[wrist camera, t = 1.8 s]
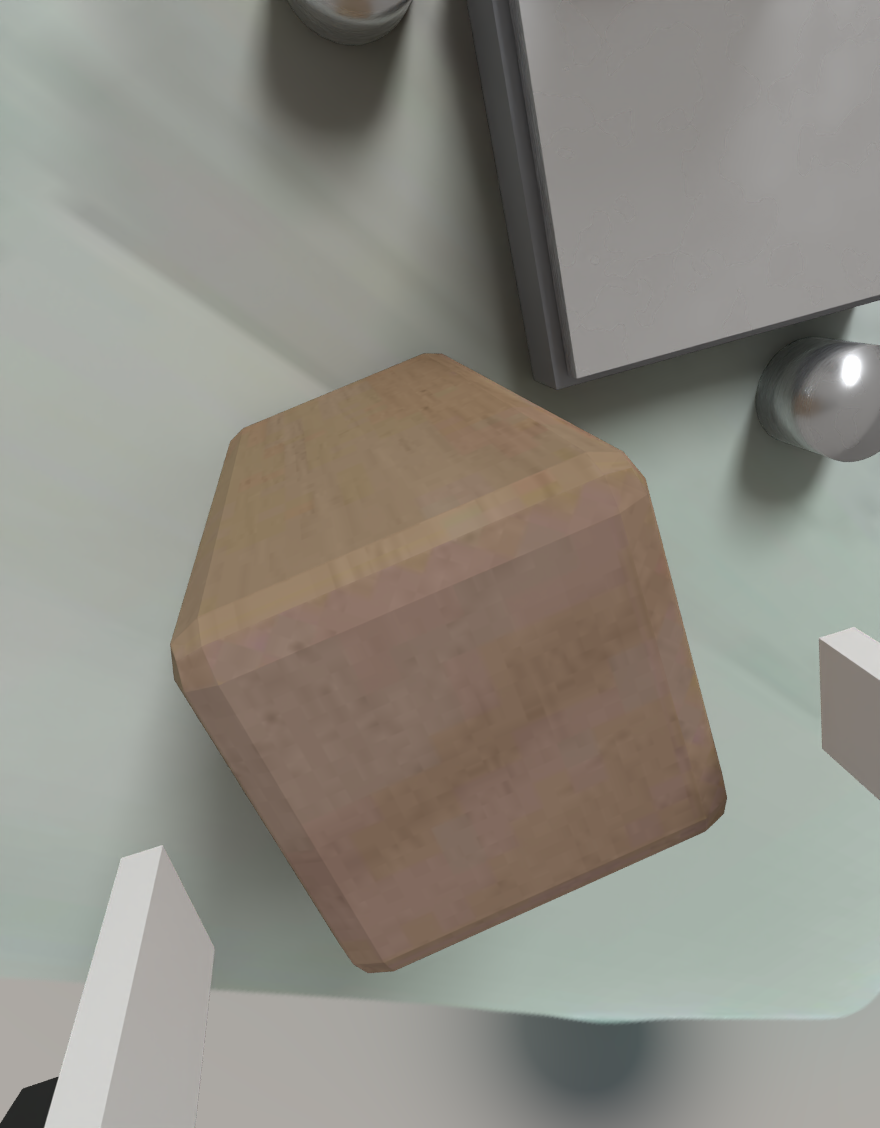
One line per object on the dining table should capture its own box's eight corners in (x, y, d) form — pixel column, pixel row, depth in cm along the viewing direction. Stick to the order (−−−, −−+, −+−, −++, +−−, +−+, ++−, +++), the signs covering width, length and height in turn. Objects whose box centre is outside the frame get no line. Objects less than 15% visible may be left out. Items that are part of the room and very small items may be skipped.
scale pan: (545, 366, 33) (577, 378, 29) (474, -54, 27) (503, -102, 23) (857, 280, 34) (922, 282, 30) (856, -137, 28) (938, -195, 24)
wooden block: (512, 543, 36) (753, 831, 18) (319, 626, 35) (360, 1008, 17) (441, 341, 32) (656, 443, 13) (222, 433, 31) (138, 663, 13)
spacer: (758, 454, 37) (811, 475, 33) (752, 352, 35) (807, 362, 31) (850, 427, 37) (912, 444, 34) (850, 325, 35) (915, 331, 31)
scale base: (533, 379, 33) (782, 490, 17) (436, -172, 25) (717, -967, 9) (860, 289, 34) (1387, 309, 18) (860, -258, 27) (1768, -1080, 10)
